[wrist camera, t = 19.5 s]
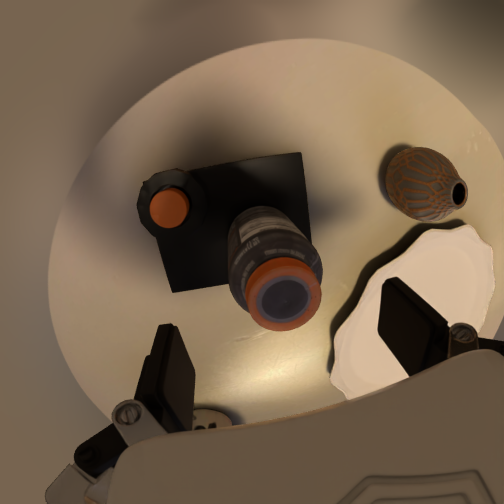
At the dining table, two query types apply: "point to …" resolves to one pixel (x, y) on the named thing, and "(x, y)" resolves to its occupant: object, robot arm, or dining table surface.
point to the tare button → (169, 207)
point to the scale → (221, 212)
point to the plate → (425, 285)
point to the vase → (425, 184)
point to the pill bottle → (273, 269)
